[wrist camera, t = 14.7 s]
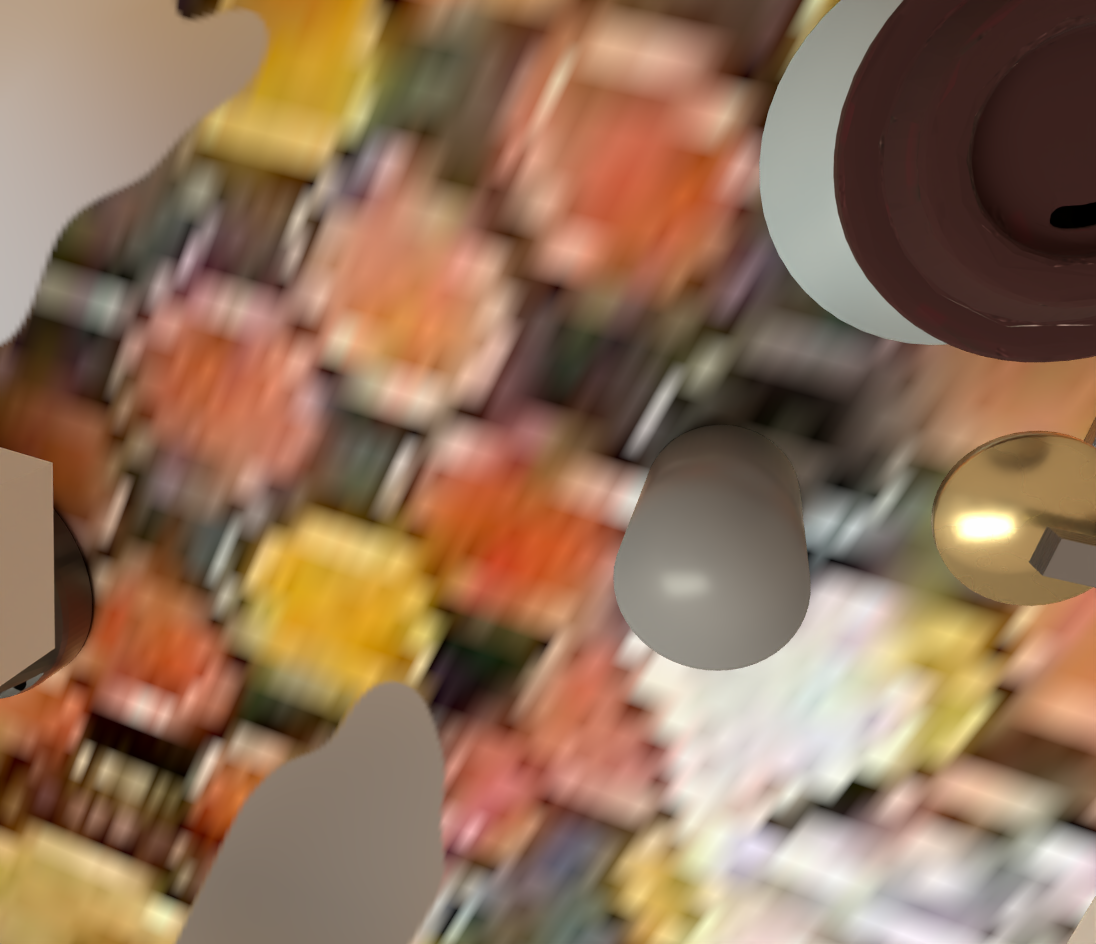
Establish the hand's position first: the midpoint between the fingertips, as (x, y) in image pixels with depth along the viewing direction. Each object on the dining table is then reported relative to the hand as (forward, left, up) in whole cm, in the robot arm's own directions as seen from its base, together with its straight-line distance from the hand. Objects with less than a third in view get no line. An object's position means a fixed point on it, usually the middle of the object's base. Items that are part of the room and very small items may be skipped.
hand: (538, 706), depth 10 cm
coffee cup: (+7, +8, -28) cm, 30 cm away
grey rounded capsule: (+3, -8, -29) cm, 30 cm away
